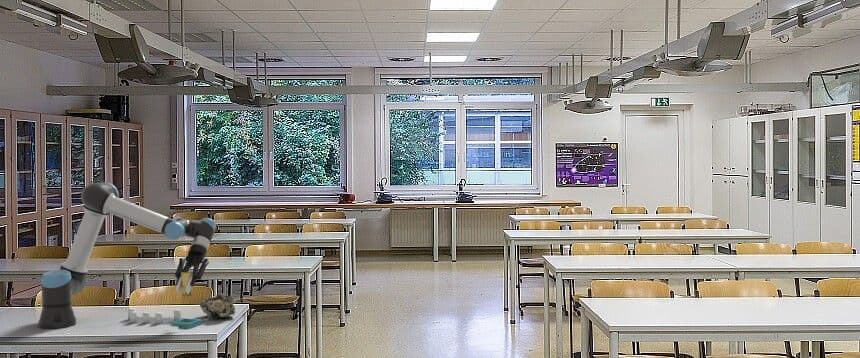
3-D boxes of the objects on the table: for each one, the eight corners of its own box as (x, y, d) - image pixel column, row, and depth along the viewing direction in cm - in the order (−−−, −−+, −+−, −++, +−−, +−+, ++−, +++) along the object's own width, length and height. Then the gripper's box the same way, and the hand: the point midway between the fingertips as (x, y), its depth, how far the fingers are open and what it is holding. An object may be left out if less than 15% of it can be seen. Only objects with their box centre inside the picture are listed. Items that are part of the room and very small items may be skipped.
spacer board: (117, 324, 365) (117, 312, 365) (134, 318, 379) (134, 306, 378) (170, 326, 360) (170, 314, 360) (186, 320, 374) (185, 308, 374)
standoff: (179, 296, 360) (179, 273, 360) (185, 294, 364) (185, 271, 364) (187, 296, 359) (186, 273, 359) (193, 294, 363) (192, 272, 362)
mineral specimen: (233, 313, 390) (233, 291, 389) (236, 320, 373) (236, 297, 373) (198, 315, 385) (198, 293, 385) (200, 322, 368) (200, 300, 368)
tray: (171, 327, 359) (171, 322, 359) (184, 322, 368) (184, 318, 368) (188, 328, 356) (188, 323, 356) (201, 324, 364) (201, 319, 364)
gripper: (219, 253, 374) (203, 297, 359) (184, 253, 378) (166, 296, 362) (214, 243, 369) (197, 286, 353) (178, 243, 372) (160, 286, 356)
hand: (182, 291), depth 358 cm, fingers closed on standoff, 4 cm apart
